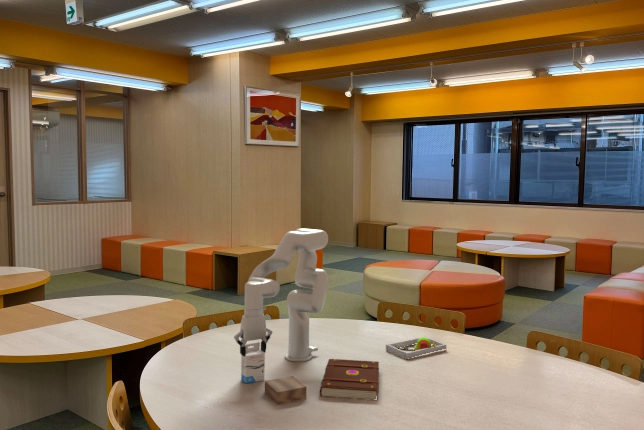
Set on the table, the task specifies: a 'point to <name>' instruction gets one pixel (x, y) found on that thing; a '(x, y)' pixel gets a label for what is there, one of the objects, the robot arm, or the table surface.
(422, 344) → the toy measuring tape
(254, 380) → the ink box
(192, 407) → the table surface
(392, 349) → the grey plastic rim
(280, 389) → the walnut block
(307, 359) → the robot arm
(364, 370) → the book
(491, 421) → the table surface
